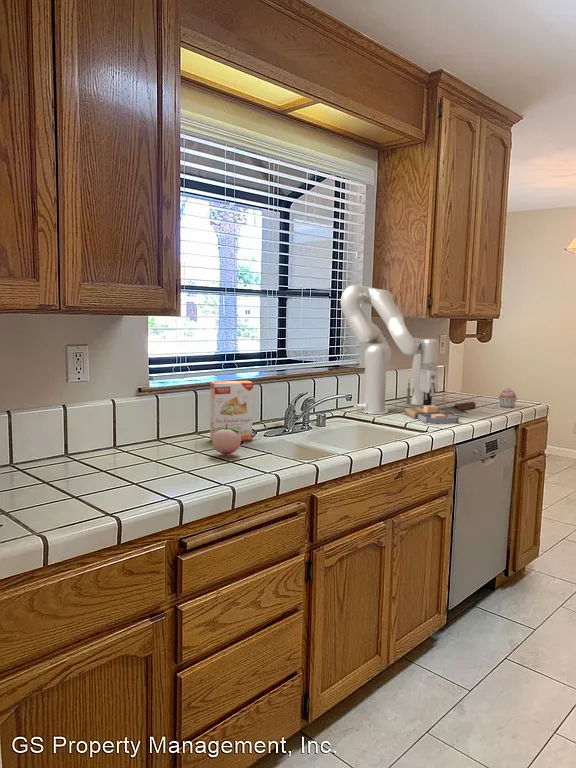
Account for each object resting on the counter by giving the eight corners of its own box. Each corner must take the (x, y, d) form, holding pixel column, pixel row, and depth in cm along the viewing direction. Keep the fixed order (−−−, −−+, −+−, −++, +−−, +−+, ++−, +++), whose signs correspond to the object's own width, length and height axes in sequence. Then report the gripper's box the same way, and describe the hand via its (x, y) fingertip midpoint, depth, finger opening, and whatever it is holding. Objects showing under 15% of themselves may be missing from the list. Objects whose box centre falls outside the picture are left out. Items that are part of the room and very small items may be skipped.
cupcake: (518, 406, 287) (520, 387, 286) (514, 409, 279) (516, 388, 278) (499, 405, 292) (500, 385, 291) (494, 407, 284) (496, 387, 283)
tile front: (431, 414, 244) (431, 419, 244) (435, 415, 239) (435, 421, 240) (441, 413, 244) (441, 419, 245) (445, 415, 240) (445, 421, 240)
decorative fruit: (210, 459, 176) (209, 427, 175) (212, 452, 184) (212, 421, 183) (240, 459, 176) (240, 427, 175) (242, 452, 184) (242, 422, 183)
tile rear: (427, 412, 248) (427, 406, 247) (423, 410, 252) (423, 405, 252) (437, 412, 248) (437, 406, 248) (433, 410, 253) (433, 405, 252)
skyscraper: (417, 403, 294) (419, 348, 291) (429, 405, 287) (431, 349, 284) (405, 404, 289) (407, 349, 286) (417, 406, 283) (420, 349, 279)
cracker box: (214, 443, 197) (214, 383, 194) (210, 440, 202) (209, 381, 200) (253, 440, 202) (253, 381, 199) (247, 437, 207) (248, 380, 205)
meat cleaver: (447, 418, 253) (447, 409, 253) (426, 414, 262) (427, 406, 262) (490, 412, 274) (490, 403, 274) (469, 408, 283) (470, 400, 283)
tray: (426, 424, 237) (426, 418, 237) (417, 419, 247) (417, 414, 247) (458, 423, 239) (458, 417, 239) (447, 419, 249) (448, 413, 249)
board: (414, 419, 247) (414, 412, 247) (404, 414, 259) (404, 408, 259) (453, 418, 250) (454, 412, 250) (442, 414, 262) (442, 407, 262)
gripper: (444, 368, 245) (442, 410, 247) (430, 365, 260) (428, 405, 262) (427, 368, 244) (425, 411, 246) (414, 365, 259) (412, 405, 261)
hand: (427, 408), depth 254 cm, fingers closed
